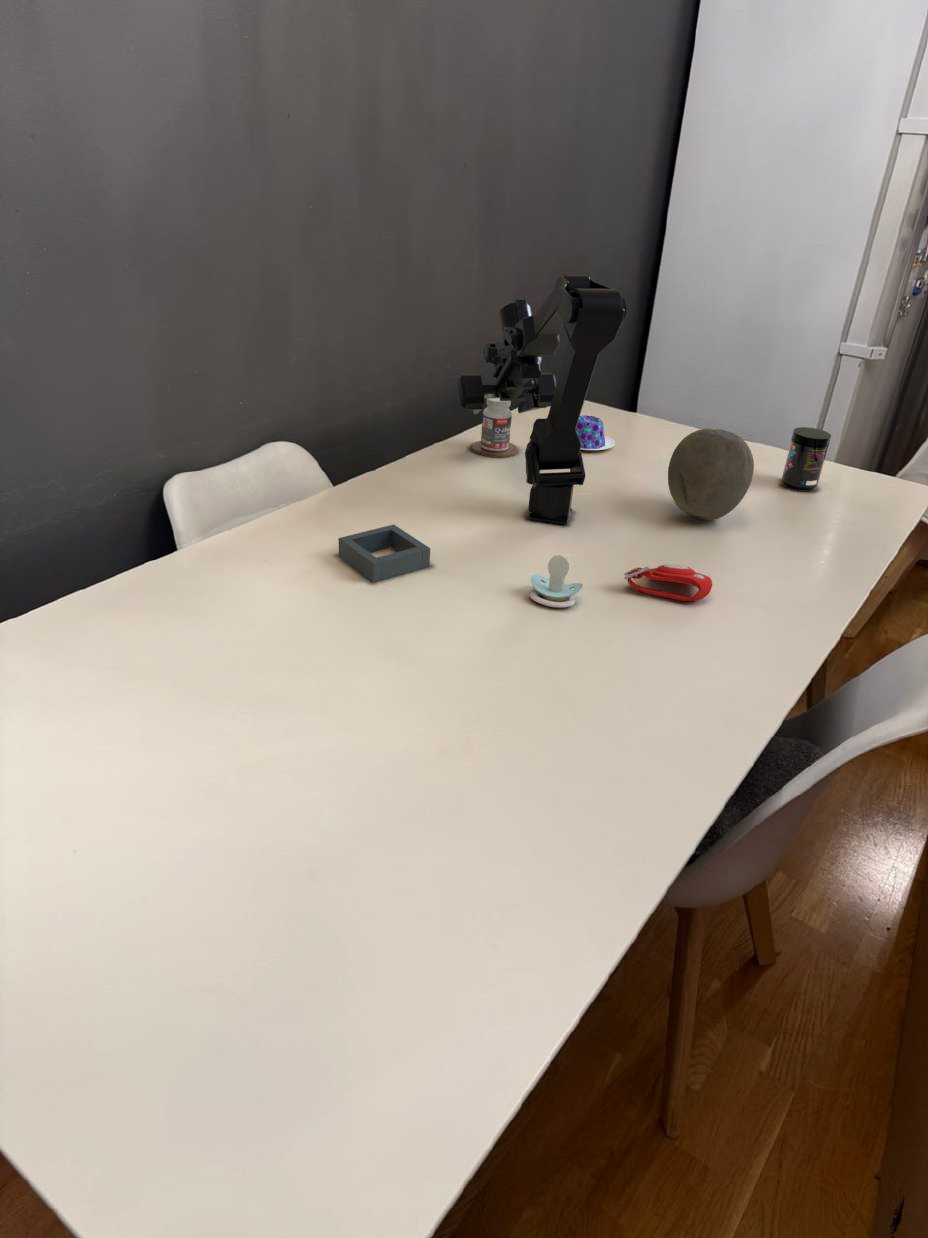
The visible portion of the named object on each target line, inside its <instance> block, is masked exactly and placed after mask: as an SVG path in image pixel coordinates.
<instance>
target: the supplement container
mask: <svg viewBox="0 0 928 1238" xmlns="http://www.w3.org/2000/svg"><path fill="white" fill-rule="evenodd" d="M790 439H791V440H790V444H789V448H788V451H787V455H786V459H785V463H784V468H783V472H782V475H781V483H782V485H783V486H784V487H786V488H788V489H790V490H793V491H798V492H811V491H814V490H815V489H816V488H817V487H818V486H819V481H820V477H821V474H822V470H823V467H824V463H825V461H826V460H825V459H826V456H827V454H828V453H827V452H828V449H829V446H830V442H831V439H832V434H831V433H830V432H828V431H826V430H823V429H820V428H815V427H807V426H801V427H800V426H799V427H795V428H793V431H792V434H791V438H790Z"/></svg>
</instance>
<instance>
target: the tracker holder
mask: <svg viewBox="0 0 928 1238" xmlns="http://www.w3.org/2000/svg"><path fill="white" fill-rule="evenodd" d="M623 575H624V577H623V578H624V580H626V581H627V583H628V584H629V586H630V587H632V588H633V589H635V590H637V591H639V592H642V593H645V594H649V595H653V596H657V597H662V598H667V599H672V600H677V601H682V602H689V601H690V602H692V601H700V600H703V599H704V598H706V597H707V596H708V595H709V594H710V592H711V591H712V588H713V580H712V579H711V576H708V575H706V574H702V573H699V572H696V571H695V570H694V569H692V568H690V567H688V566H685V565H681V564H680V565H679V564H661V565H659V566H657V567H655V568H653V567H651V565H647V566H645V567H643V568H642V567H634V568H632V569H630V570H627V571H626V572H624V573H623ZM643 577H645V578H647V579H651V580H655V581H662V582H670V583H678V584H686V585H690V586H693V587H695V588H697V589H698V590H697V591H696V593H695V594H693V595H685V594H681V593H675V592H671V591H664V590H659V589H656V588H650V587H645V586H643V585H640V584H637V583H635V582H634V581H633V580H632V579H634V580H641V579H643Z"/></svg>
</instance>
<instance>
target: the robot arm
mask: <svg viewBox="0 0 928 1238" xmlns="http://www.w3.org/2000/svg"><path fill="white" fill-rule="evenodd" d="M626 315H627V302H626V299H625V298H624V296H622V295H621V293H620V292H619V290H618V289H617V288H613V287H611V286H608V285H606V284H604V283H601V282H598V281H596V280H595V279H594V278H593V277H592V276H589V275H588V274H563V275H561V276H557V279H556V280H555V284H554V287H553V289H552V290H551V292H550V293H549V295H548V296H547V297H546V299H545V300H544V302H543V303H542V304H541V306H540V307H539V309H538V310H537V311H536V313H535V314H533V313H532V308H531V306H530V304H528V302H527V299H526V298H524V299H523V298H518V299H517V298H515V300H514V302H512V303H508V304H506V305H505V306H503V307H501V308H500V309H499V311H498V316H499V321H500V327H501V331H502V338H503V341H495V342H490V343H489V342H487V343H485V345H484V347H483V351H482V357H483V359H484V362H485V364H491V365H493V367H494V368H493V369H492V378H493V379H495V382H494V384H483V379H482V375H481V374H480V373H461V374H460V375H459V376H458V378H457V381H456V384H457V389H458V395H459V402H460V407H462V408H463V409H465V410H469V411H472V412H473V415H477V414H479V413H480V412H481V411H482V410H483V407H484V405H485V400H487V399H493V398H500V401H511V402H519V401H520V402H519V404H518V407H517V413H518V414H524V413H527V412H532V411H535V410H541V409H546V408H548V407H549V411H548V413H547V417H545V418H536V420H535V421H534V422H533V426H532V429H531V433H530V436H529V441H528V443H527V444H526V448H525V451H524V457H525V458H524V459H525V474H526V481H525V482H526V484H529V485H531V487H530V489H529V497H528V498H529V499H528V508H527V511H528V513H529V514H528V519H529V520H531V521H538V522H545V523H551V524H557V525H563V526H565V525H568V524H569V521H570V518H571V516H572V513H573V508H572V502H573V495H574V486H576V485H577V486H578V485H579V486H583V485H584V483H585V480H586V470H585V465H584V461H583V460H584V459H583V455H582V449H580V448H581V443H580V440H579V438H578V435H577V433H576V427H577V423H578V420H579V417H580V416H581V413H582V410H583V407H584V404H585V400H586V398H587V394H588V391H589V387H590V384H591V381H592V378H593V374H594V371H595V368H596V366H597V365H596V364H597V361H598V358H599V355H600V353H601V352H602V351H603V350H604V349H606V348H607V347H608V346H609V345H610V344H611V343H612V342H613V341H614V340H615V339H616V338H617V335H618V334H619V331H620V329H621V326H622V324H623V322H624V321H625V318H626ZM563 330H565V333H566V336H567V338H568V340H567V344H566V349H565V352H564V355H563V359H562V363H561V367H560V370H559V374H558V378H557V379H556V376H555V375H554V373H552V372H542V370H541V364H542V362H543V358H552V357H553V356H554V355H555V353H556V352H557V350H558V349H559V346H560V345H561V341H560V333H561V332H562V331H563ZM552 470H569V471H559V472H541V471H552Z"/></svg>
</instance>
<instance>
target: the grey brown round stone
mask: <svg viewBox="0 0 928 1238" xmlns="http://www.w3.org/2000/svg"><path fill="white" fill-rule="evenodd" d="M667 469H668V470H667V486H668V489H669V490H668V491H669V493H670V496H671V498H672V500H673V501H674V503H675V504H676V506H677V507H678V508H679V509H680V510H681V511H682V512H683V513H684V514H685V515H687V516H689V517H692V518H694V519H697V520H700V521H705V522H707V521H715V520H718V519H720V518H723V517H725V516H726V515H727V514H729V513H731V512H732V511H733V510H734V509H735V508H737V507H738V506H739V504H740V503H741V502H742V500H743V499H744V498H745V496H746V495H747V492H748V491H749V488H750V486H751V483H752V481H753V477H754V469H755V461H754V456H753V453H752V450H751V448H750V446H749V445H748V443H747V441H745V439H743V437H741V436H740V435H738V434H737V433H734V432H731V431H728V430H726V429H721V428H715V429H714V428H702V429H698V430H695V431H692V432H691V433H689V434H687V435H686V436H685V437H684V438H683V439H681V440H680V442H679V443H678V444H677V445H676V447H675V448H674V449H673V452H672V454H671V457H670V460H669V462H668V467H667Z"/></svg>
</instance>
